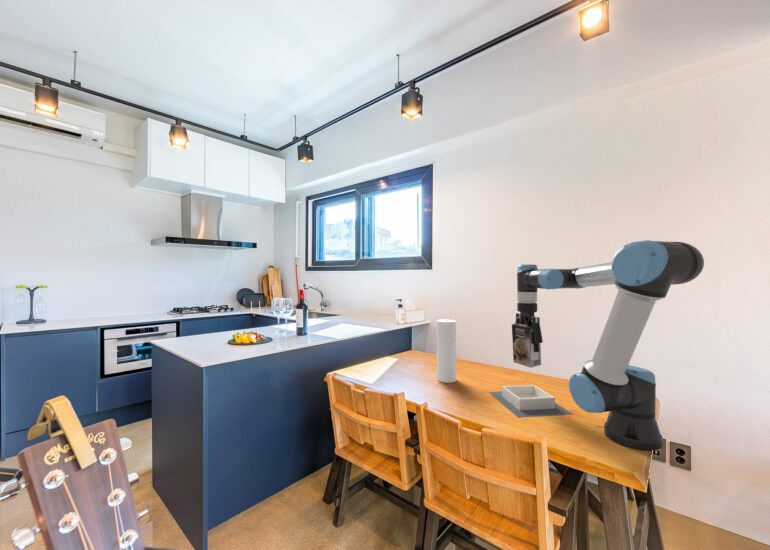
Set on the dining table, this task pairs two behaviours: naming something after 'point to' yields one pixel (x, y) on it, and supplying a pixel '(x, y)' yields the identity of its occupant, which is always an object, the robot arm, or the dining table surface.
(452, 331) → the cylinder container
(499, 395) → the mat
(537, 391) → the tray
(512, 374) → the dining table surface
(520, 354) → the coffee box
